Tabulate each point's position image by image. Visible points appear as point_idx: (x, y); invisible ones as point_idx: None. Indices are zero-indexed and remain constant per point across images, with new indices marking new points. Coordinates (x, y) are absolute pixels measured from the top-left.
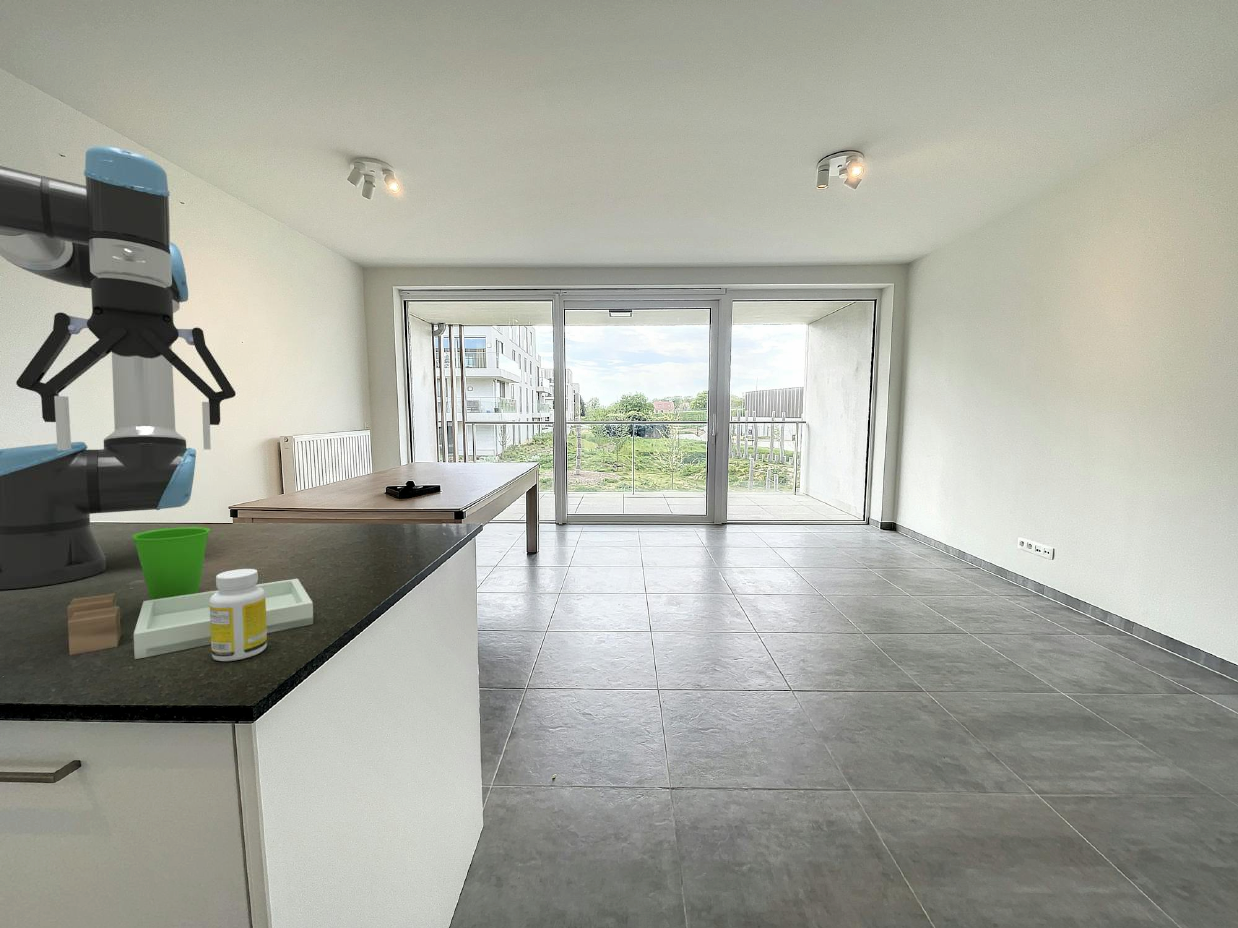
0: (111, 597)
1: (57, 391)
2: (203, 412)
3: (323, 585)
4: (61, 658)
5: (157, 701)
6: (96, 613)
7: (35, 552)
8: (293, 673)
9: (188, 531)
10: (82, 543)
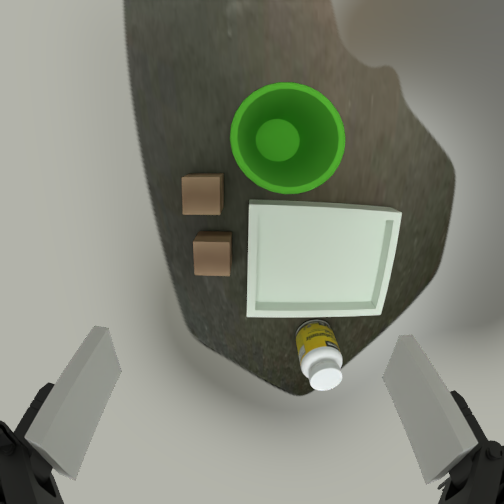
0: (217, 196)
1: (37, 468)
2: (418, 457)
3: (421, 177)
4: None
5: (262, 374)
6: (212, 258)
7: None
8: None
9: (312, 97)
10: None
